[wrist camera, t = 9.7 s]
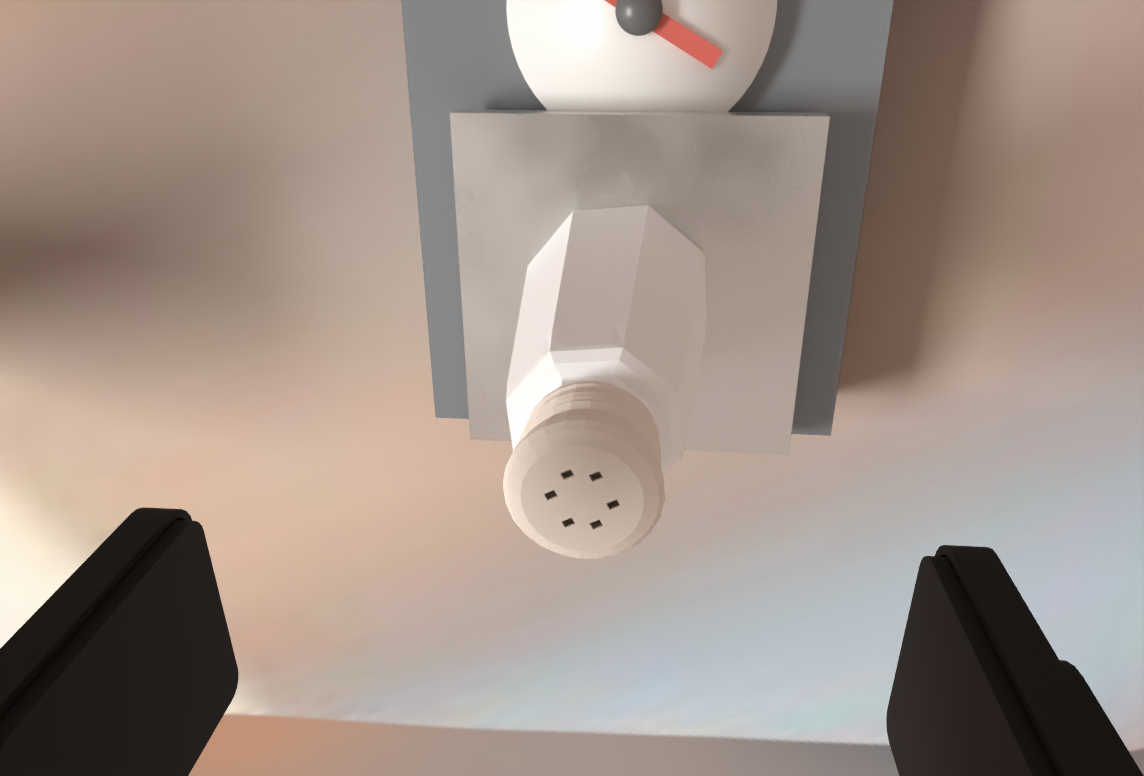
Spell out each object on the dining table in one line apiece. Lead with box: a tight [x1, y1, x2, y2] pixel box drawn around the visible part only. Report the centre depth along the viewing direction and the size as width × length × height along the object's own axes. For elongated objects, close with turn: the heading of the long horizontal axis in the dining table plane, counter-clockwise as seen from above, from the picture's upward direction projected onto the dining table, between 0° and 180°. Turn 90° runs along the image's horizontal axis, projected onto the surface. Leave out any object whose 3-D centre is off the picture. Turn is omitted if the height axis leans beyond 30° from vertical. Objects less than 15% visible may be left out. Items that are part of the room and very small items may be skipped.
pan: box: [450, 109, 830, 455], centre depth 24 cm, size 10×10×1 cm
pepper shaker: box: [503, 205, 707, 558], centre depth 19 cm, size 5×5×11 cm
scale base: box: [401, 0, 894, 436], centre depth 25 cm, size 16×13×4 cm
